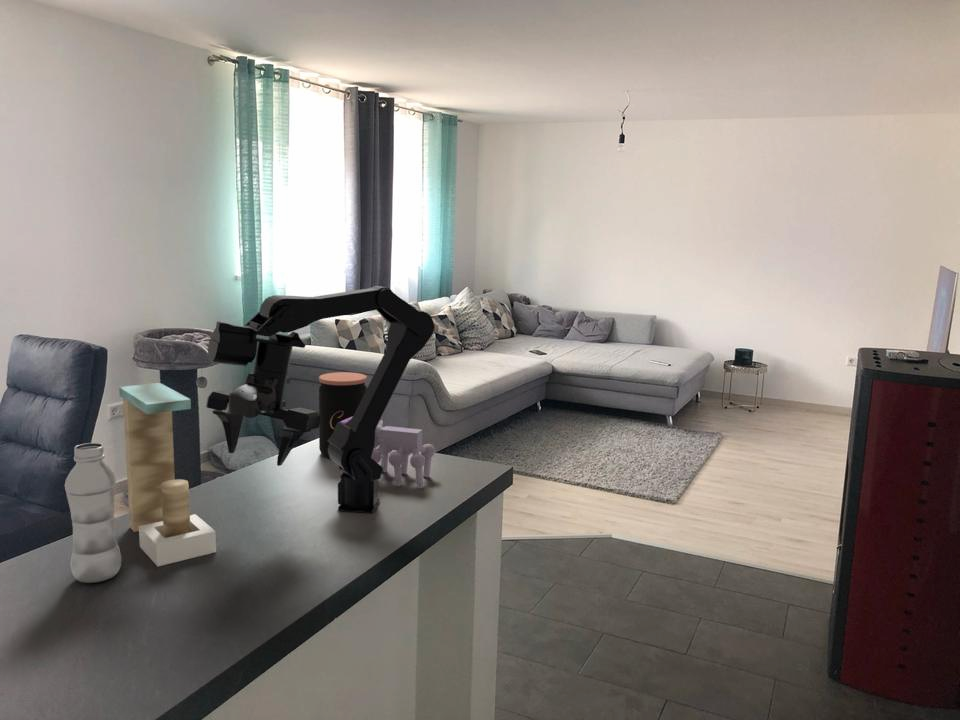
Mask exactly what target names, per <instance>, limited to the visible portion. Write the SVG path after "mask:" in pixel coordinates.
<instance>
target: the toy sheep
mask: <svg viewBox="0 0 960 720" xmlns="http://www.w3.org/2000/svg"><path fill="white" fill-rule="evenodd" d="M352 417H353V416H352ZM352 417H350V418H348V419H345V420H343V421H341V423H343V424H346V423H347V422H348V421H349V420H350V419H351V418H352ZM383 420H384V417H383V416H382V417H381V419H380V421H379V423H378V425H377V427H376V431H375V446H374V450H373V453H372V456H371V458H372V459H373V460H375V461H376V462H377V463H378V464H379V463H380V462H381V463H380V466H381V467H382V468H383V471H382V473H387V472H388V464H390V465H391V466H393V468H394V471H393V472H394V482H395V483H394V484H395V486H396V487H400V486H402V485H403V476H402V475H407V474H408V473H407V472H408V464H409V463H410V466H411V467H412V468H414V469H415V470H414V471H415V478H416V479H415V480H416V481H415V482H416V489H423V488H424V487H425V486H424V478H430V475H431V467H432V466H431V465H432V457H434V456H435V453H436V448H435V446H433V444H431V443H426V444H423V429H420V428H410V427H409V428H408V427H401V426H400V427H398V426H390V425H388V426H387V425H386V426H383V424H384V422H383ZM377 447H378V448H377ZM389 453H390V454H389ZM410 455H412V456H411V457H410V459H409V456H410ZM379 480H380V479H377V483H378V482H379Z"/></svg>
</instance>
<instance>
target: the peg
mask: <svg viewBox="0 0 960 720" xmlns="http://www.w3.org/2000/svg"><path fill="white" fill-rule="evenodd" d="M189 486H190V485H189V481H188V480H186V479H181V478H180V479H179V478H178V479H175V480H169V481H166V482H163V483H162V484H161V493H162V513H163V534H164V538H168V537H172V536H177V535H181V534H186V533H190V513H191V511H190V491H189V489H190V487H189Z"/></svg>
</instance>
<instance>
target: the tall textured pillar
mask: <svg viewBox="0 0 960 720" xmlns="http://www.w3.org/2000/svg"><path fill="white" fill-rule="evenodd" d="M118 390H119V391H118V392H119V395H118V396H119V397H120V398H122V406H123V423H124V424H123V425H124V443H125V446H124V447H125V461H126V479H127V483H126V484H127V498H128V513H129V515H128V516H129V517H128V518H129V528H130V529H131V530H132V532H134V533H137V532H139V526H142V525H146V524H151V523H156V522H161V521H163V513H162V493H161V484H162V483H163V482H166V481H169V480H176V478H175V477H176V476H175V452H174V431H173V430H174V429H173V412H175V411H176V412H177V411H183V410H185V411H186V410H191V409H192V405H191V404H192V402H191V400H192V399H191V398H189V397H187V396H186V395H183V394H182V393H180V392H178V391H176V390H174V389H172V388H170V387H168V386H167V385H165V384H163V383H161V382H154V383H143V384H135V385H133V384H132V385H126V386H119V387H118Z"/></svg>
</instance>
